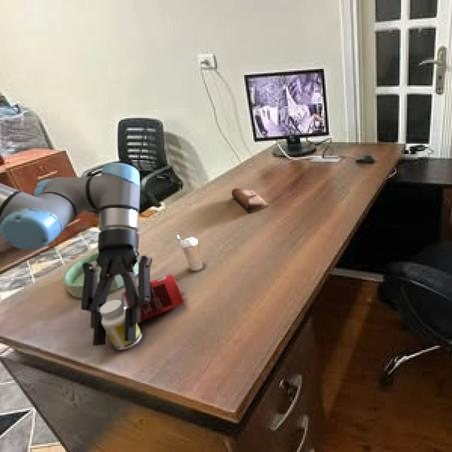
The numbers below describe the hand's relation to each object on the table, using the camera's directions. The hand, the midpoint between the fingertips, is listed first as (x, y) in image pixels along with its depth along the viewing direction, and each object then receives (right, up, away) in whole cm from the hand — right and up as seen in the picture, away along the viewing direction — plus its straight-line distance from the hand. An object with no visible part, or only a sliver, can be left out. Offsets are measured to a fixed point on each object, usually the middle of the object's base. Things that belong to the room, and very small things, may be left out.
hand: (114, 342), depth 70 cm
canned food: (+7, +9, +13) cm, 17 cm away
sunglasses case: (+12, +32, +62) cm, 71 cm away
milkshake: (+6, +12, +27) cm, 30 cm away
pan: (-19, +9, +27) cm, 34 cm away
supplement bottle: (0, -1, +5) cm, 5 cm away
